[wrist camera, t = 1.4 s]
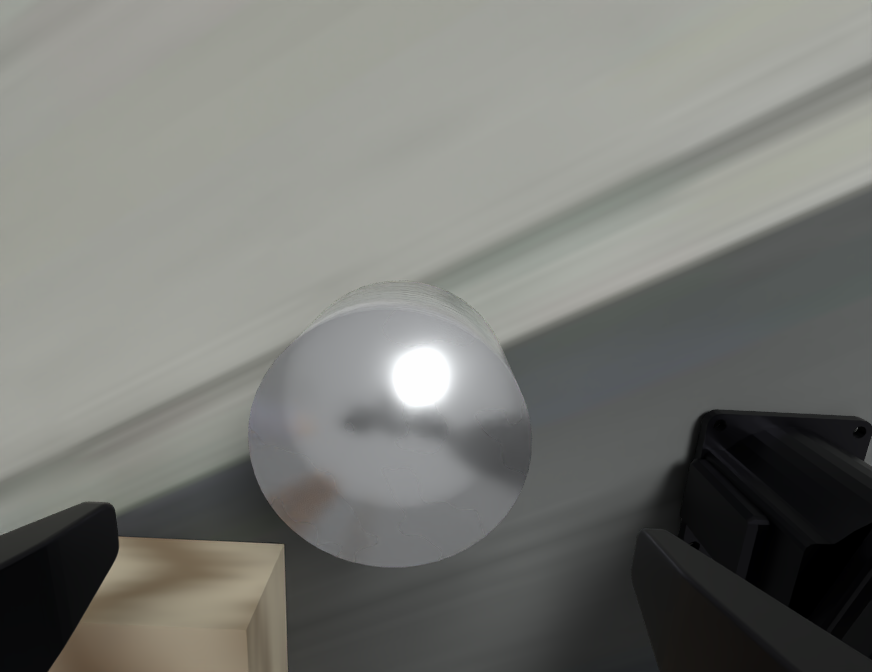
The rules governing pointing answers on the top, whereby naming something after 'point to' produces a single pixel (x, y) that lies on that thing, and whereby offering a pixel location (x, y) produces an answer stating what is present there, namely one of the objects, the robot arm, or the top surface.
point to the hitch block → (185, 610)
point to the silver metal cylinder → (392, 428)
